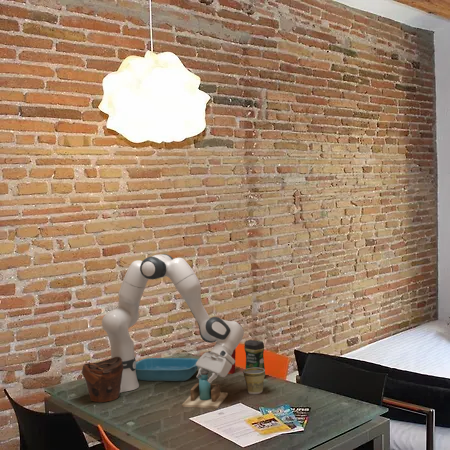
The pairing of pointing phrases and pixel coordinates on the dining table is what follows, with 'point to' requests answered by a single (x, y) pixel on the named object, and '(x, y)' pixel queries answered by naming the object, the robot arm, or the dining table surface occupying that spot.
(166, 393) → the dining table surface
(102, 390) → the case
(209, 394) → the teal bottle
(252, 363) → the coffee jar
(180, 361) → the casserole dish
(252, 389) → the ceramic cup
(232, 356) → the paper cup
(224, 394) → the bottle stand
